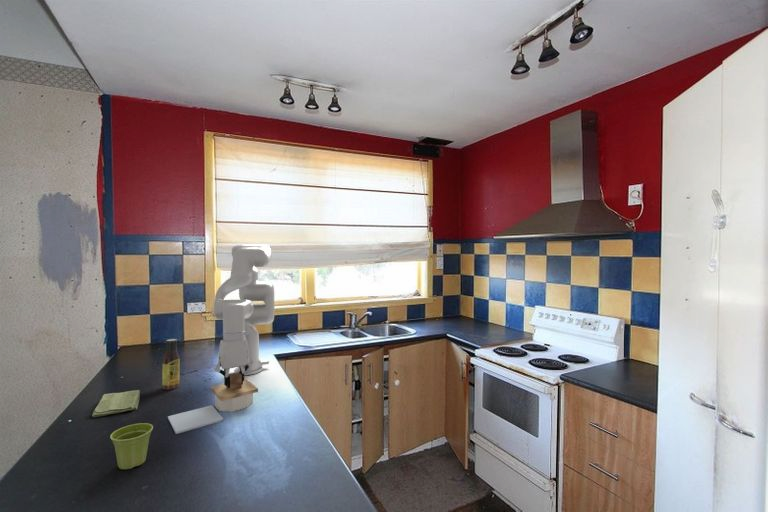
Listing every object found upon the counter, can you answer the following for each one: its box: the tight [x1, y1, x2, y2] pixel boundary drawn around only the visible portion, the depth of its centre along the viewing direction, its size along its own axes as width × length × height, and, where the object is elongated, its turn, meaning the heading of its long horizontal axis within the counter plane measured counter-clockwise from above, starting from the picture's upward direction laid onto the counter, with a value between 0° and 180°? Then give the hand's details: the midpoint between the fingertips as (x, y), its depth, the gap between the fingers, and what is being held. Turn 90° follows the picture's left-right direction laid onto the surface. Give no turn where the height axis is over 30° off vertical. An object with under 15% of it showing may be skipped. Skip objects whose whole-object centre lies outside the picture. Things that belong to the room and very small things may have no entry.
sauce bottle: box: [161, 338, 181, 391], centre depth 150 cm, size 7×6×20 cm
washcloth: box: [91, 389, 141, 418], centre depth 133 cm, size 13×18×3 cm
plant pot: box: [109, 422, 154, 470], centre depth 97 cm, size 9×9×9 cm
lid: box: [210, 372, 259, 401], centre depth 134 cm, size 13×13×6 cm
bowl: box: [214, 393, 254, 413], centre depth 134 cm, size 12×12×5 cm
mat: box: [167, 404, 224, 435], centre depth 122 cm, size 14×14×1 cm
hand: (234, 384), depth 134 cm, fingers closed on lid, 4 cm apart
